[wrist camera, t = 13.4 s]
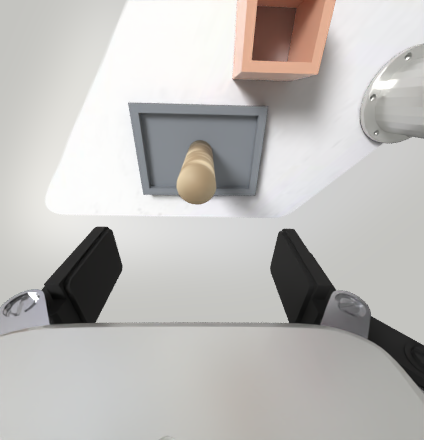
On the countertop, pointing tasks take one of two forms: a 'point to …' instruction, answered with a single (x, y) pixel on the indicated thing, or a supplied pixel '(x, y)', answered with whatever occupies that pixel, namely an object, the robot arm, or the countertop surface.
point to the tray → (192, 131)
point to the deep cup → (299, 47)
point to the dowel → (197, 174)
